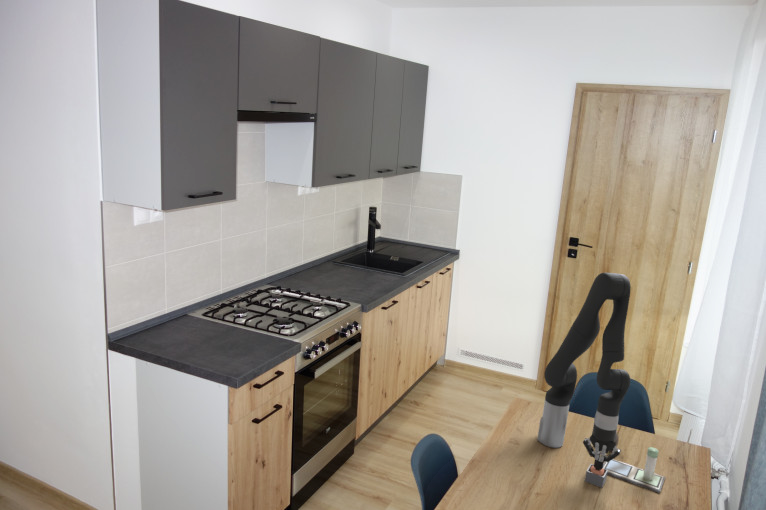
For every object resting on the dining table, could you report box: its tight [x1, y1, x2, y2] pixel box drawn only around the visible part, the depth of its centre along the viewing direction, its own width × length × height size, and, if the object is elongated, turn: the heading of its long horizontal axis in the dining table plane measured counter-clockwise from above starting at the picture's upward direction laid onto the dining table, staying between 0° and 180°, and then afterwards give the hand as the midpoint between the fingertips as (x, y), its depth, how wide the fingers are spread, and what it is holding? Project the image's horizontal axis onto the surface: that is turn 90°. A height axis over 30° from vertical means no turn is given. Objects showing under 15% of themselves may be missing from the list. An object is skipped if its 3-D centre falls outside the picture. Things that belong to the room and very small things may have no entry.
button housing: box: [584, 463, 608, 489], centre depth 212 cm, size 6×6×4 cm
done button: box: [590, 466, 604, 476], centre depth 212 cm, size 4×4×3 cm
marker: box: [643, 447, 660, 481], centre depth 214 cm, size 4×4×11 cm
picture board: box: [603, 458, 666, 494], centre depth 218 cm, size 20×11×1 cm, turn 57°
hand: (597, 469), depth 212 cm, fingers closed
